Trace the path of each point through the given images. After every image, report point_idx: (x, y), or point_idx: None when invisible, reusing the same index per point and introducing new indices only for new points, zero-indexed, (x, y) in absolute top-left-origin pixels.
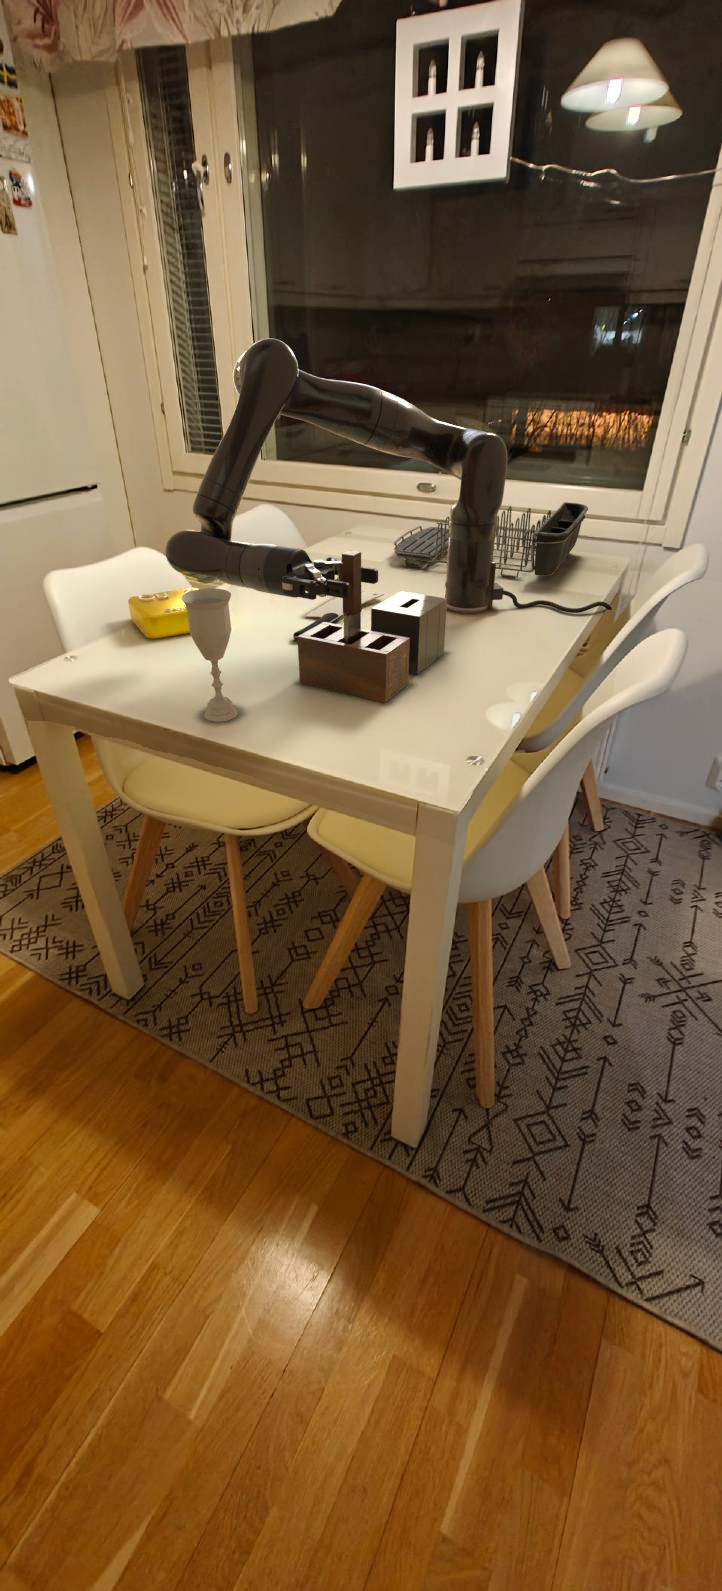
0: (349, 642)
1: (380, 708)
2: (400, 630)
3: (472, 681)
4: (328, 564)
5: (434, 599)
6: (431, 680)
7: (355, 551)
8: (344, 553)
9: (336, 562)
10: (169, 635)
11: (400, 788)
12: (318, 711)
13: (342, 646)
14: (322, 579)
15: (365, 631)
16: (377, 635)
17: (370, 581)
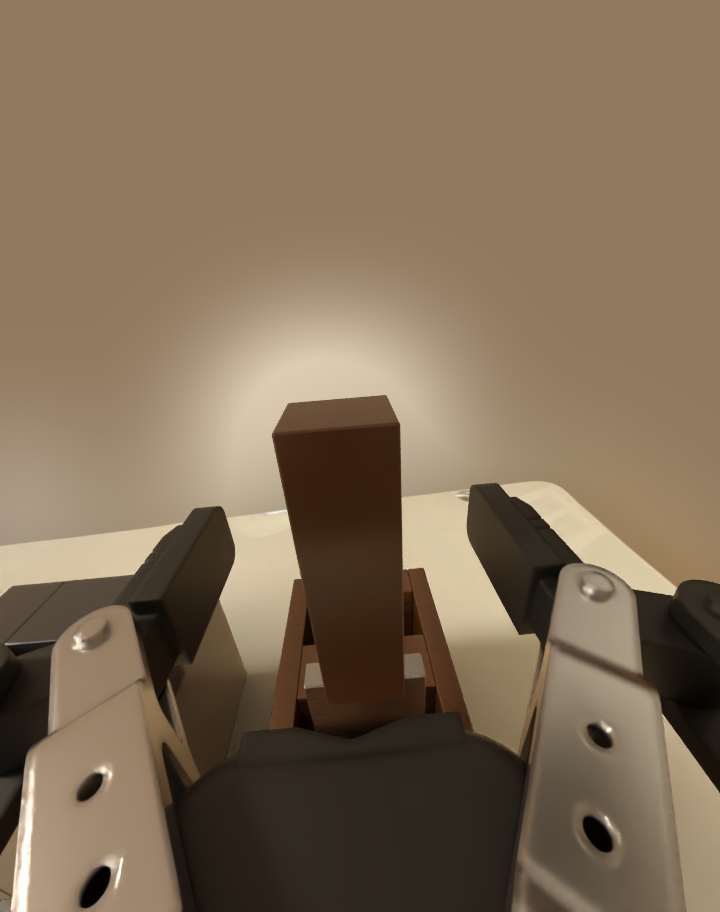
0: None
1: (448, 644)
2: (198, 659)
3: (253, 576)
4: (173, 849)
5: (14, 608)
6: (270, 632)
7: (291, 413)
8: (380, 419)
9: (117, 747)
10: None
11: (585, 514)
12: None
13: (466, 710)
14: (596, 577)
15: (290, 722)
16: (313, 657)
17: (226, 569)
